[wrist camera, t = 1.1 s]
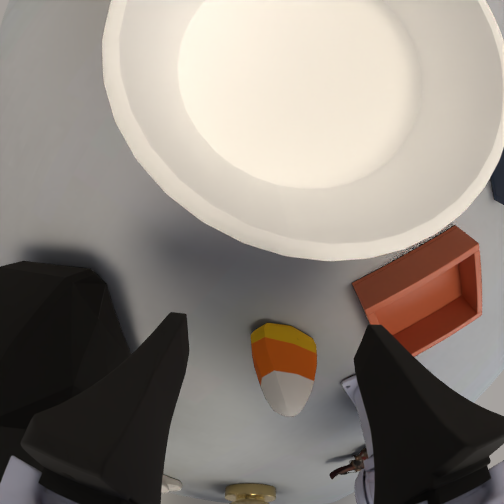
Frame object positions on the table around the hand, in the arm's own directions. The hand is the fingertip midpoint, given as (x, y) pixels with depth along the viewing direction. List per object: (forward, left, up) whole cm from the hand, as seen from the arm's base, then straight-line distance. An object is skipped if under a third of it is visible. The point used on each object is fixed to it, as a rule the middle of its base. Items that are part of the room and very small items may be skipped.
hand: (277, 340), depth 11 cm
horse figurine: (-43, +3, -10) cm, 45 cm away
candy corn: (-8, +3, -10) cm, 13 cm away
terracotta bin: (-10, -9, -10) cm, 17 cm away
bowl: (+9, -8, -10) cm, 15 cm away
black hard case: (-5, +22, -10) cm, 25 cm away
